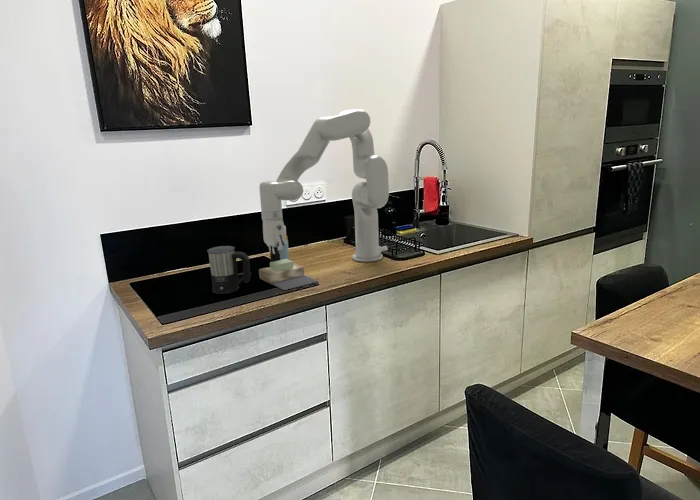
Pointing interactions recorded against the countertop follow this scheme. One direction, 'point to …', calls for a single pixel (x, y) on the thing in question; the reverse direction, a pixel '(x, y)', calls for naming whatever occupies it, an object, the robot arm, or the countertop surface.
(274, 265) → the green block
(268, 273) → the birch board
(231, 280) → the milk frother
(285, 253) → the bottle
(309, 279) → the rubber mat
